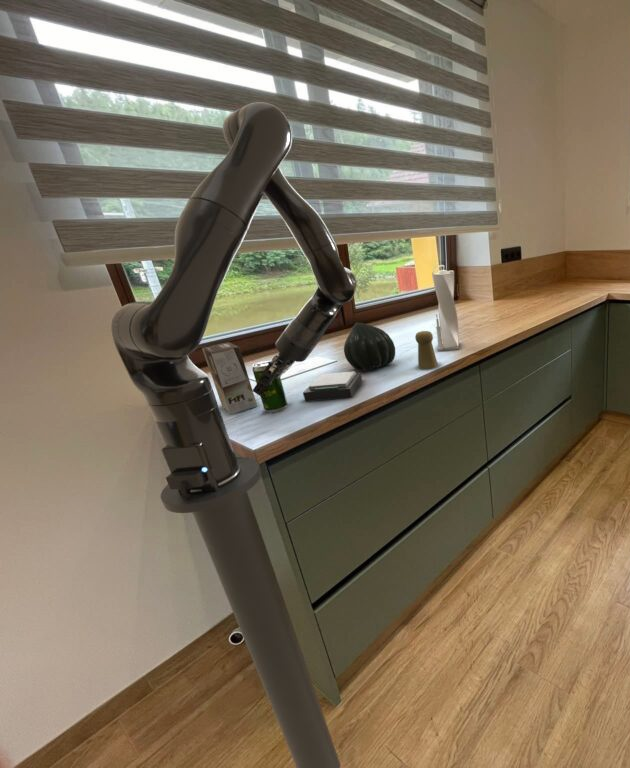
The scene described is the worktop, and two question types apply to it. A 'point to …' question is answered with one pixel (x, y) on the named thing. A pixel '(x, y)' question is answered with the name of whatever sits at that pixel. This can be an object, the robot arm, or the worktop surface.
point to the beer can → (271, 390)
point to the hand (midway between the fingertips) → (263, 387)
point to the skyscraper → (446, 310)
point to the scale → (333, 386)
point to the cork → (425, 350)
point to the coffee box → (230, 377)
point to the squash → (368, 347)
